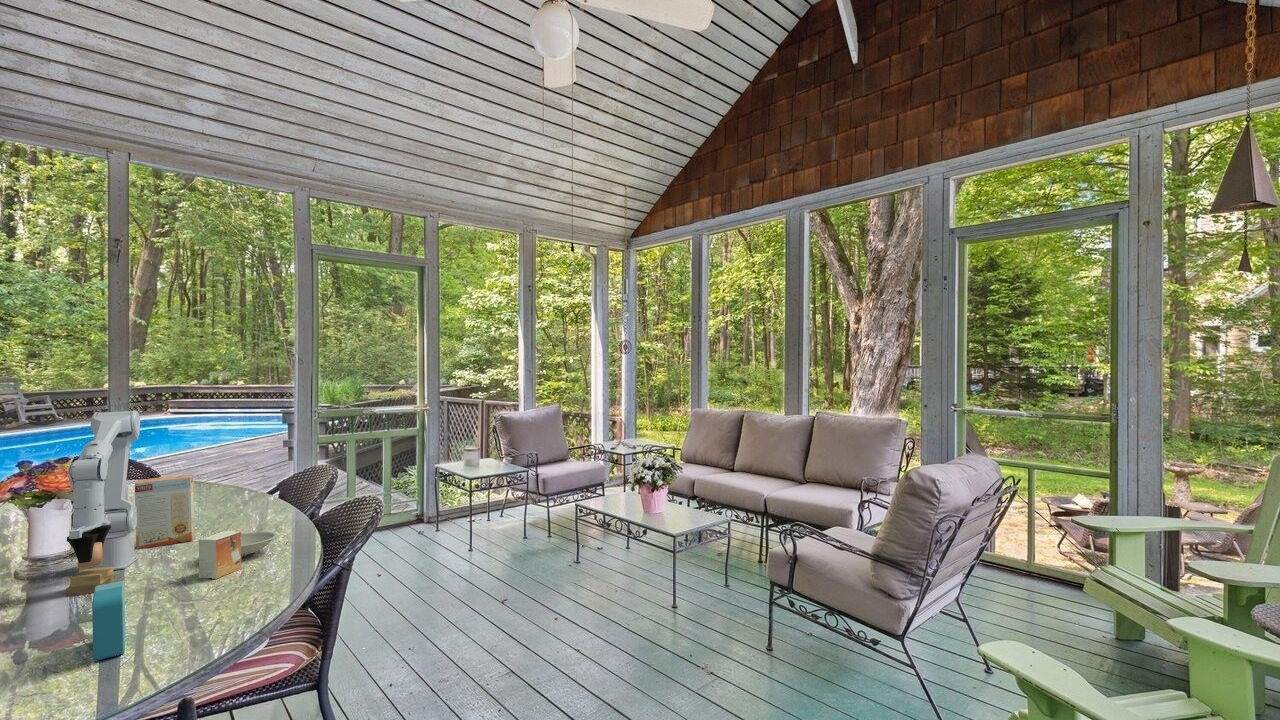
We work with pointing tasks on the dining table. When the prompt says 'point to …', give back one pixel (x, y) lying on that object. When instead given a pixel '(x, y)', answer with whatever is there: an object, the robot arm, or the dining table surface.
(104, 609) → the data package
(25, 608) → the dining table surface
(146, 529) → the cracker box
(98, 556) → the terracotta cylinder
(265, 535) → the dish
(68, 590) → the tan square slab
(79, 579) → the oak top block
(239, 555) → the small box
